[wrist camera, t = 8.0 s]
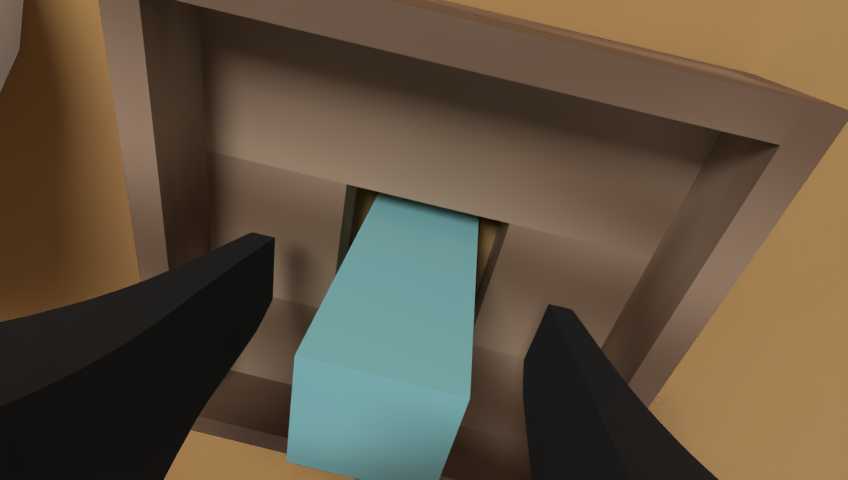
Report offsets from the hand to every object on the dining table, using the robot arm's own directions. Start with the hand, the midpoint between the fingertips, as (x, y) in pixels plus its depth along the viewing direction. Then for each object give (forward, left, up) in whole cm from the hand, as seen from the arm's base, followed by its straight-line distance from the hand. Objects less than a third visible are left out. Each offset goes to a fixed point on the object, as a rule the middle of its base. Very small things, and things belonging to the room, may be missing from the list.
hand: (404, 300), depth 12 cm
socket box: (0, 0, -3) cm, 3 cm away
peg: (0, 0, -3) cm, 3 cm away
